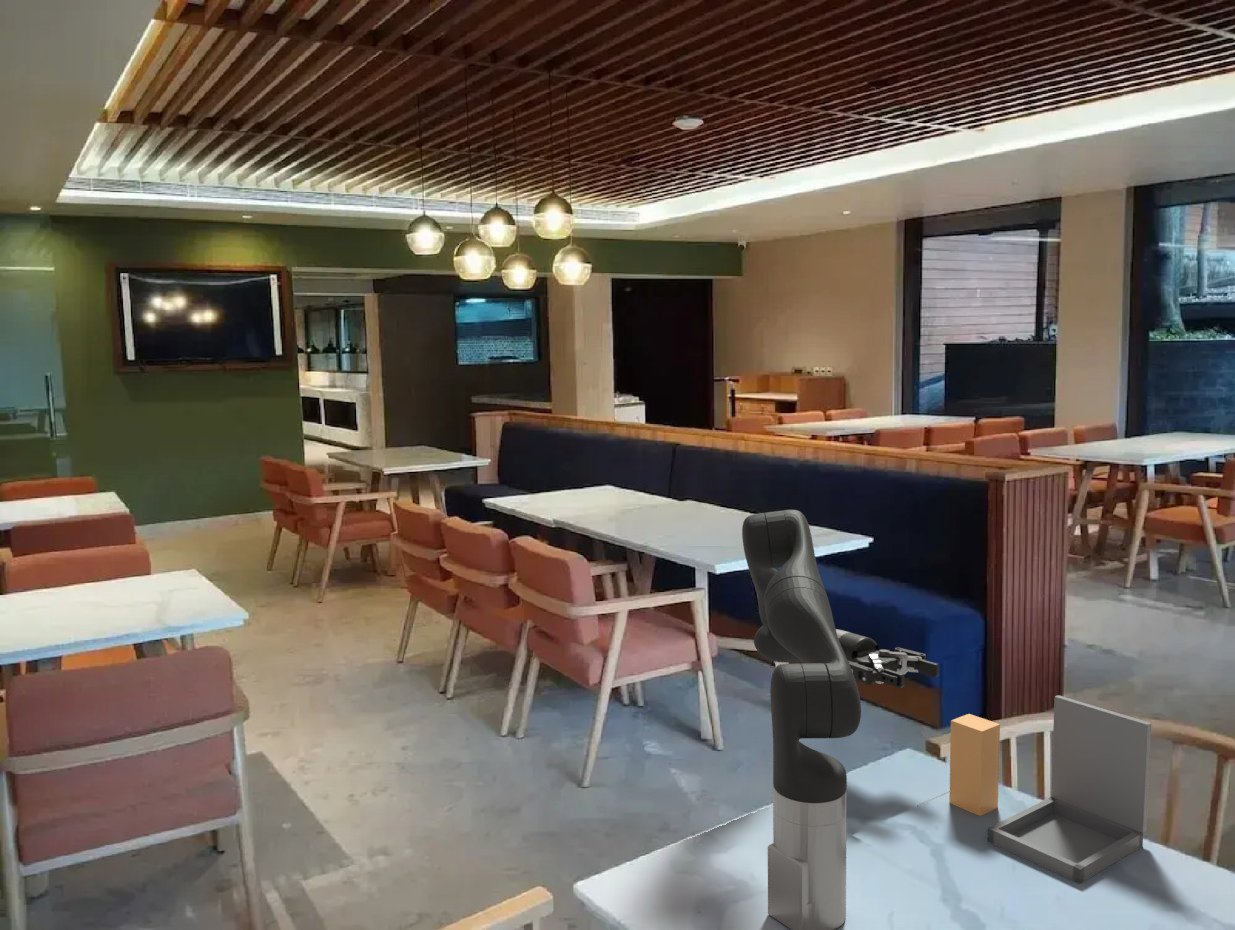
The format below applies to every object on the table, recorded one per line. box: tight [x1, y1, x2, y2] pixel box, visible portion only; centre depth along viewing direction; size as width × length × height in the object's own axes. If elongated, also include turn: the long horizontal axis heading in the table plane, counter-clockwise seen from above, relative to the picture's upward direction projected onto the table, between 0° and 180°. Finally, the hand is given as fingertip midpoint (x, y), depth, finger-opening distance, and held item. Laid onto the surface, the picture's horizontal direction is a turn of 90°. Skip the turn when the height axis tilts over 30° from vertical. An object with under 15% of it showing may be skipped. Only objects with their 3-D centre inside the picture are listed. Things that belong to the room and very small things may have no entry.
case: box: [987, 694, 1153, 884], centre depth 141 cm, size 17×14×19 cm
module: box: [949, 713, 1001, 817], centre depth 153 cm, size 4×6×14 cm
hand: (920, 676), depth 160 cm, fingers open, 8 cm apart
